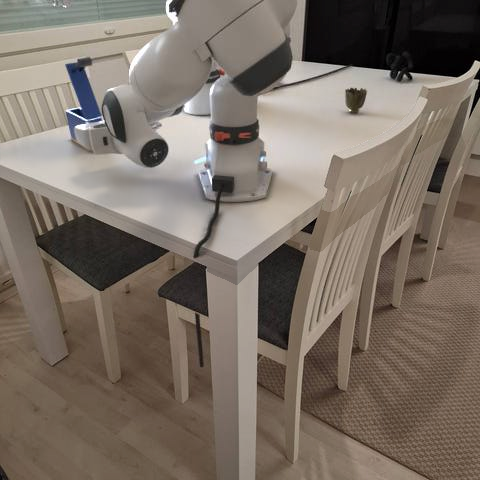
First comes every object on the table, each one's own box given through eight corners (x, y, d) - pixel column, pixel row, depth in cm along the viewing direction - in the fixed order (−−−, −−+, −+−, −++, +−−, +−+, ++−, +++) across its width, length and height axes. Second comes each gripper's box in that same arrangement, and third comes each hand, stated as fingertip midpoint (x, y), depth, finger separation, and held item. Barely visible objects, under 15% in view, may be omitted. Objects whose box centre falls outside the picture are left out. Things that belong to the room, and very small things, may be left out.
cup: (340, 114, 157) (342, 91, 153) (346, 109, 163) (348, 86, 159) (361, 116, 154) (364, 93, 150) (366, 111, 160) (369, 88, 156)
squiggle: (400, 92, 202) (376, 71, 205) (417, 76, 202) (392, 56, 205) (405, 81, 191) (380, 59, 194) (423, 64, 191) (397, 42, 194)
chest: (71, 140, 140) (65, 110, 135) (85, 136, 142) (79, 107, 137) (92, 152, 130) (86, 121, 125) (107, 148, 133) (101, 117, 128)
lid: (64, 64, 122) (74, 52, 115) (81, 62, 125) (91, 50, 117) (85, 119, 125) (95, 111, 118) (100, 116, 128) (111, 108, 120)
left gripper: (75, -60, 103) (87, 7, 111) (50, -57, 118) (62, 3, 125) (47, -60, 100) (61, 9, 108) (25, -57, 114) (39, 4, 122)
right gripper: (163, 113, 112) (140, 102, 122) (83, 130, 102) (65, 116, 112) (166, 138, 116) (143, 124, 125) (88, 156, 106) (70, 140, 115)
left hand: (62, 5), depth 116 cm, fingers open, 8 cm apart
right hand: (105, 120), depth 119 cm, fingers open, 8 cm apart
